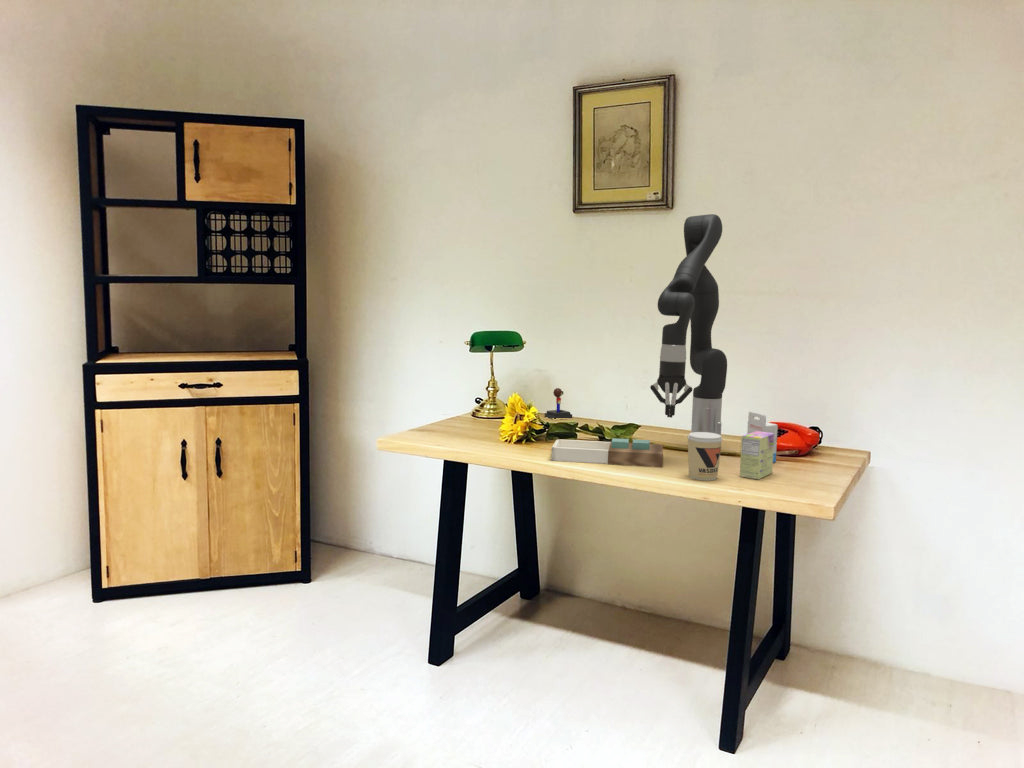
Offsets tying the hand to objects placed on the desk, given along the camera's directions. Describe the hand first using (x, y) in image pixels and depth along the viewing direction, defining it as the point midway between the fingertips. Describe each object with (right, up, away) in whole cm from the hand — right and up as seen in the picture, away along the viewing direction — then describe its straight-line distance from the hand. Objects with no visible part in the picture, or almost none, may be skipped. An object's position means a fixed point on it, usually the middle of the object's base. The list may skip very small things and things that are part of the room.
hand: (669, 416), depth 229 cm
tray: (-25, -13, +6) cm, 29 cm away
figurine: (-29, -4, +76) cm, 82 cm away
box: (+22, -16, -12) cm, 30 cm away
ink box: (+29, -14, +7) cm, 33 cm away
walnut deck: (-10, -13, +3) cm, 17 cm away
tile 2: (-8, -10, +3) cm, 13 cm away
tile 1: (-14, -9, +4) cm, 18 cm away
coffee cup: (+6, -16, -15) cm, 23 cm away
